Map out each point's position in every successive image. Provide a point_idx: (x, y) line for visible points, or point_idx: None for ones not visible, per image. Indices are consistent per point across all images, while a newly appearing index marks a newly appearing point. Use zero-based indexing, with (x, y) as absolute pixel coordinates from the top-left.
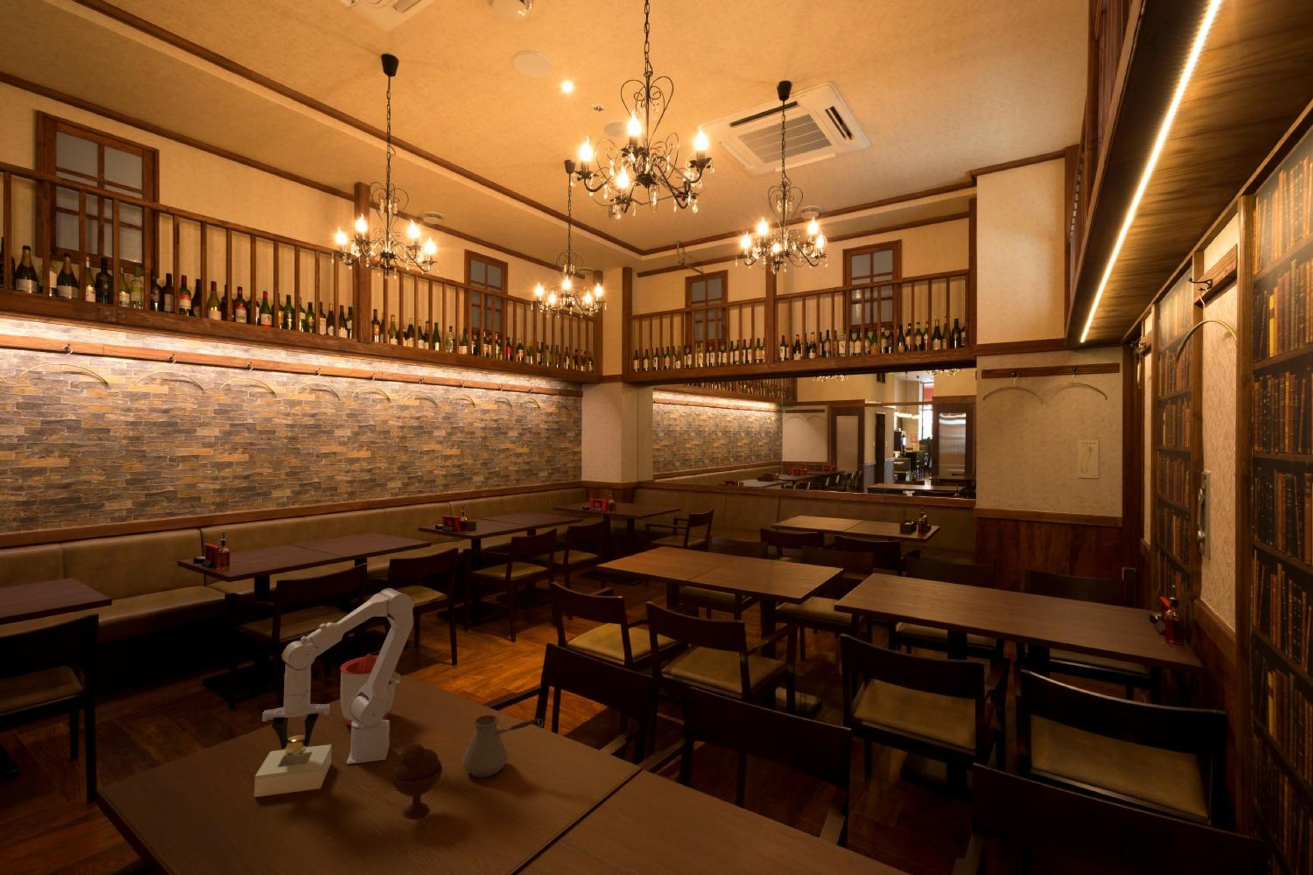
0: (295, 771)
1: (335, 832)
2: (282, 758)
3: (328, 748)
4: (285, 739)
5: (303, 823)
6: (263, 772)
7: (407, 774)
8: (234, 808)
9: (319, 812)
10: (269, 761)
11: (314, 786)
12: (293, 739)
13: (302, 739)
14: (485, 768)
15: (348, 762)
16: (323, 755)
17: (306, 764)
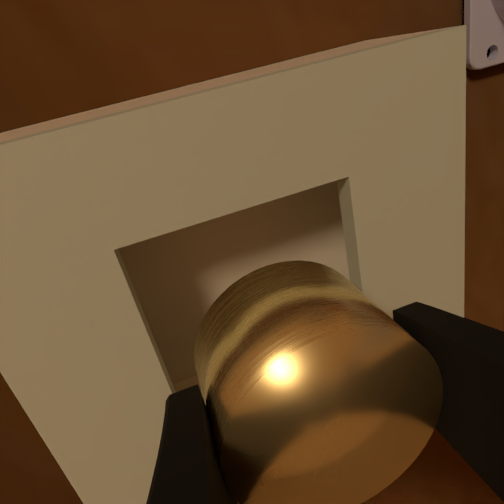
0: None
1: (492, 498)
2: (131, 287)
3: (456, 113)
4: (226, 496)
5: (397, 493)
6: (127, 484)
7: None
8: (73, 497)
9: (429, 441)
10: (52, 359)
11: None
12: (308, 437)
13: (411, 415)
14: None
15: (480, 67)
16: (443, 231)
17: None
